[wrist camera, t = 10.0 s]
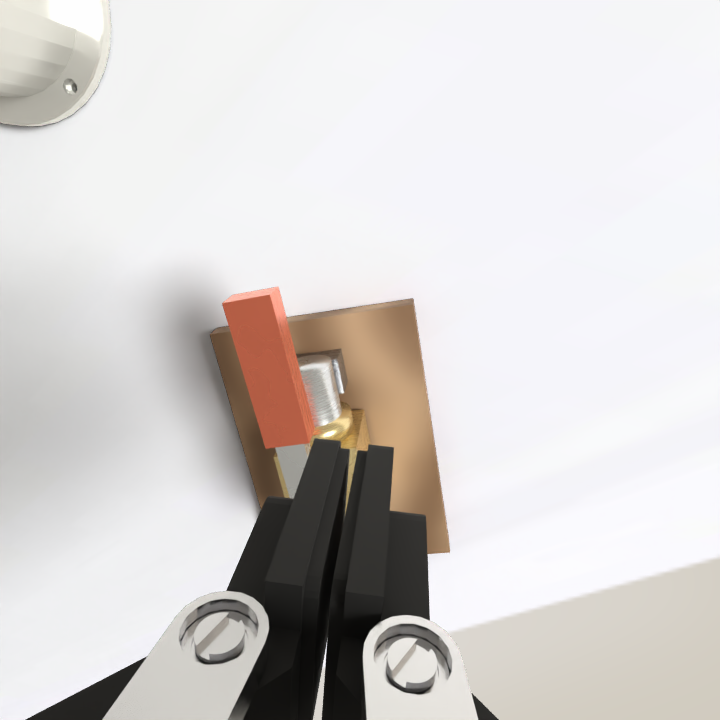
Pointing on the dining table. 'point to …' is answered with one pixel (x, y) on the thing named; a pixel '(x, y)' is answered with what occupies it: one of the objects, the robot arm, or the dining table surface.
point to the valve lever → (272, 377)
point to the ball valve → (330, 407)
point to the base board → (359, 401)
